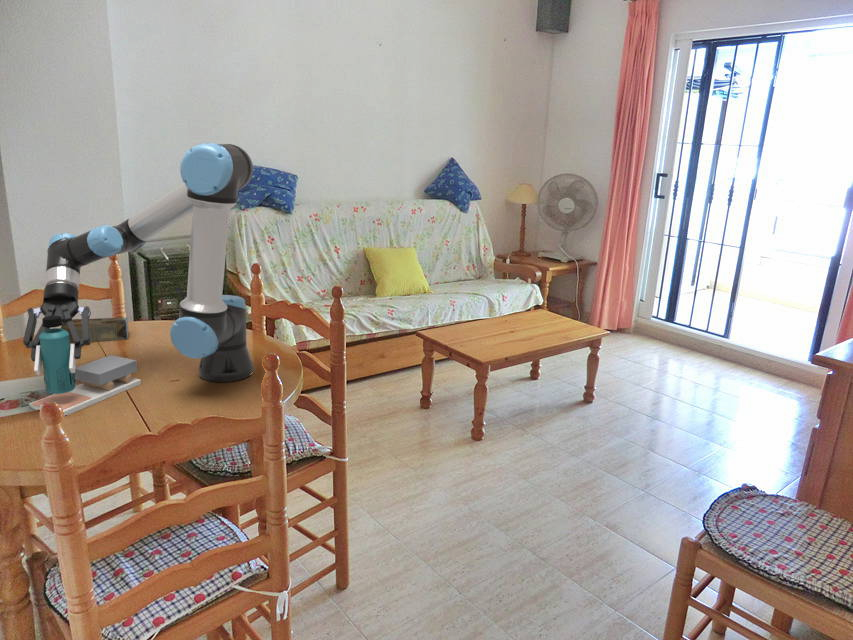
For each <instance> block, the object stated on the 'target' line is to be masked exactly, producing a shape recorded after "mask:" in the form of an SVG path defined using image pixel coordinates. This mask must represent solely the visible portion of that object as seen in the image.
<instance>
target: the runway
mask: <svg viewBox="0 0 853 640" xmlns="http://www.w3.org/2000/svg"><path fill="white" fill-rule="evenodd" d="M139 385H142V381H141V379H139V378H134V377H133V375H132V373H131V374H128V375H126V376H123V377H121V378H118V379H116V380H113V381H111V382H108V383H105V384H103V385H96V384H92V383H87V382H83V381H80V383H79V384H77V385H76V386H75V389H74V390H72V391H70V392H67V393H62V394H50V395H49V396H46V397H43V398H40V399H37V400H35V401H32V402H30V403H28V406H29V405H32V406H35V407H38V408H39V407H40V405H41V404H42V403H44V402H56V403H57V404H59V405H60V406H61V407H62V409H63V412H64V417H66V416H65V415H67V416H69V415H71V414H74V413H77V412H79V411H80V410H82V409H85V408H87V407H90V406H92V405H95V404H97V403H100V402H102V401H104V400H106V399H109V398H111V397H114V396H116V395H118V394H120V393H123V392H125V391H127V390H130V389H132V388H135V387H137V386H139Z"/></svg>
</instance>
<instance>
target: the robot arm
mask: <svg viewBox="0 0 853 640" xmlns="http://www.w3.org/2000/svg"><path fill="white" fill-rule="evenodd" d="M179 171H180V177H181V179H182V182H183V183H181V184H180V185H178V186H176V187H175V188H173V189H172V190H170V191H169V192H167V193H166V194H164V195H163V196H161V197H160V198H157V199H156V200H155V201H153V202H152V203H150V204H149V205H147V206H146V207H144V208H142V209H140V210H139V211H138V212H136V213H135V214H132V215H131V216H130V217H129V218H127V219H126V220H123V222H121V223H119V224H117V225H113V226H111V225H109V224H108V225H107V224H106V225H102V226H98V227H94V228H92V229H90V230H89V231H86V232H83V233H81V234H79V235H76V234H73V233H69V232H64V233H56V234H54V235H52V236H51V237H50V239H49V243H48V247H47V250H46V252H47V255H46V256H47V258H46V259H47V260H46V269H45V279H44V289H43V296H42V297H43V299H42V303H41V305H40V306H39V307H38V308H32V307H29V308H27V315H28V317H27V321H26V322H27V323H26V326H25V331H24V335H23V339H22V343H23V345H24V346H25V348H27V349H31V350H30V359H31V361H32V362H34V366H33V371H34V373H35V374H36V376H41V375H42V374H41V373H42V368H43V367H42V366H43V365H42V364H43V363H42V354H41V347H40V339H39V335H40V334H41V333H42V332H43V331H45V330H47V329H51V328H46V327H43V326H42V324H41V325H40V327H39V329H38V330H37V332H36V333H35V331H36V328H37V324H38V323H37V322H38V318H39V317H40V314H42V315H43V316H44V317H46V316H54V315H55V316H61V319H62V323H67V324H68V326H69V329H70V332H71V334H72V337H73V340H74V342H75V343H70V347H71V348H70V362H69V369H70V371H71V373H75V367H76V365H77V364H76V362H77V360H80V359H81V357H82V348H83V346H84V347H85V346H89V345H90V344H91V342H90V331H89V319H90V318H91V314H92V311H91V309H90V306H88V305H86V306H84V307H83V306H82V307H81V306H79V294H80V293H79V289H80V280H81V279H80V278H81V277H80V276H81V267H83V266H87V265H90V264H92V263H95V262H98V261H99V260H103V259H106V258H109V257H113V256H116V255H120V254H124V253H125V254H126V253H128V252H134V251H137V250H139V249H141V248H143V247H144V246H145V245H146V243H147V242H148V241H149V240H150V239H152V238H154V237H156V236H157V235H159V234H160V233H163V231H165V230H167V229H169V228H170V227H171V226H174V225H175V224H176V223H178V222H180V221H181V220H183V219H184V218H186V217H188V216H190V215H191V214H192V215H191V216H192V218H191V230H190V247H189V261H188V273H187V274H188V275H187V289H186V290H187V291H186V297H185V298H184V299H182V300H181V301H180V302H179V310H178V311H179V313H178V318H177V319H176V320H175V321H174V323H172V325H171V327H170V332H169V336H170V340H171V343H172V345H173V346H174V348H175V349H177V351H178V353H180V354H181V355H182V356H185V357H187V358H191V359H194V360H195V359H200V362H199V365H198V376H199V377H200V378H201V379H203V380H205V381H209V382H213V383H228V382H236V381H240V379H241V380H244V379H243V378H245V377H247V376H249V375H250V374H251V373H252V372H253V373H254V363H253V361H252V358H251V355H250V353H249V349H248V347H247V307H246V300H245V299H244V298H243V297H242V296H238V295H231V294H230V295H229V294H223V290H224V280H225V279H224V278H225V266H226V255H227V247H228V245H227V243H228V233H229V232H228V231H229V221H230V210H231V209H232V208H233V207H234V206H236V205H237V202H238V193H239V190H241V189H243V188H244V187H246V186H247V185H248V184H249V183H250V181H251V179H252V177H253V174H254V173H253V172H254V164H253V162H252V159H251V157H250V156H249V154H248V153H247V152H246V151H245V150H244V149H243V148H242V147H241V146H238V145H236V144H232V143H214V142H213V143H211V142H206V143H202V144H198V145H194V146H193V147H191V148H190V149H188V150H187V151H186V152H185V154H184V155H183V157H182V160H181V162H180V169H179ZM78 313H79V315H80V316H81V319H82V332H83V339H79V336H78V334H77V331H76V328H75V326H74V323H73V320H72V319H74V318H75V316H76V315H77V314H78ZM249 377H250V376H249ZM247 378H248V377H247ZM245 379H246V378H245Z"/></svg>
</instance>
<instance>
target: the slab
mask: <svg viewBox="0 0 853 640" xmlns="http://www.w3.org/2000/svg"><path fill="white" fill-rule="evenodd" d="M137 371H138V365H137V360H135V359H130V358H126V357H122V356H117V355H113V354H110V355H107V356H104V357H101V358H99V359H95V360H93V361H91V362H87V363H84V364H82V365H78V366H75V373H74V376H75V380H76V381H83V382H87V383H92V384H96V385H103V384H105V383H108V382H111V381H113V380H116V379H118V378H121V377H123V376H126V375H128V374H131V375H132V374H134V373H135V372H137Z"/></svg>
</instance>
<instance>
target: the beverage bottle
mask: <svg viewBox="0 0 853 640" xmlns="http://www.w3.org/2000/svg"><path fill="white" fill-rule="evenodd" d="M41 325H42V326H43V327H46V328H50V329H47V330H45V331H43V332H42V333H41V334H40V335H39V339H40V347H41V354H42V367H41V368H42V371H43V372H42V373H43V380H44V385H45V386H44V387H45V388H44V389H46V392H47V393H48V394H50V395H53V394H62V393H67V392H70V391H72V390H74V389H75V386H77V385H76V381H77V380H75V376H74V373H71V371H70V369H69V362H70V348H71V343H70V340H69V333H68V332H67V331H65V330H64V329H61V326H62V325H63V323H62V319H61V316H55V315H54V316H46V317H45V316H44V317H42V323H41Z"/></svg>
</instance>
